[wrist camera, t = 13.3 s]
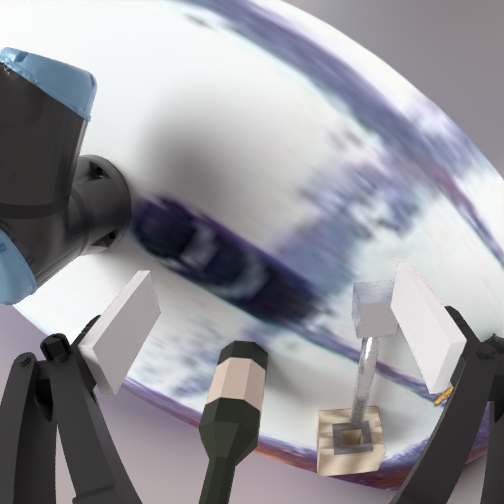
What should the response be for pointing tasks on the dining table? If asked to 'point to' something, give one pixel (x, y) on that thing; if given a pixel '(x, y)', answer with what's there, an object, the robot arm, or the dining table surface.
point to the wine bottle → (232, 416)
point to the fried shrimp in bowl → (498, 343)
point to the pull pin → (370, 335)
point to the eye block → (349, 442)
